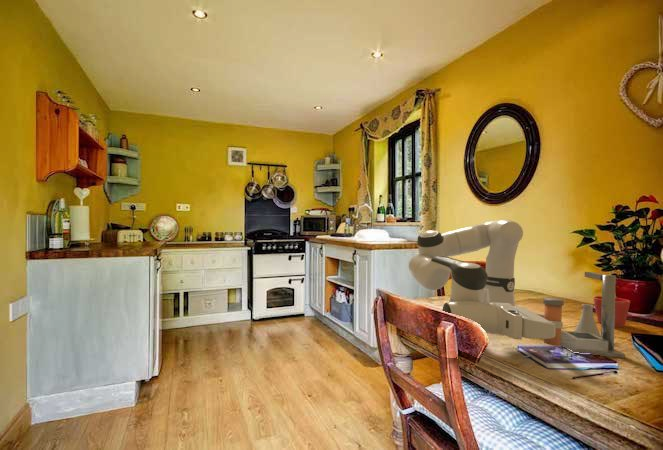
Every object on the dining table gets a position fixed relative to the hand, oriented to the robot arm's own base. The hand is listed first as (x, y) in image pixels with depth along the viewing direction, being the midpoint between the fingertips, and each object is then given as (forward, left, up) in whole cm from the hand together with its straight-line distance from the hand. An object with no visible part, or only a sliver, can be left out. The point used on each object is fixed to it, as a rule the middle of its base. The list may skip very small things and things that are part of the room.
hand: (556, 321), depth 94 cm
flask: (-10, +30, -10) cm, 33 cm away
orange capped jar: (0, -1, -6) cm, 6 cm away
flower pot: (-16, +54, -10) cm, 57 cm away
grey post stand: (-2, +16, -9) cm, 18 cm away
